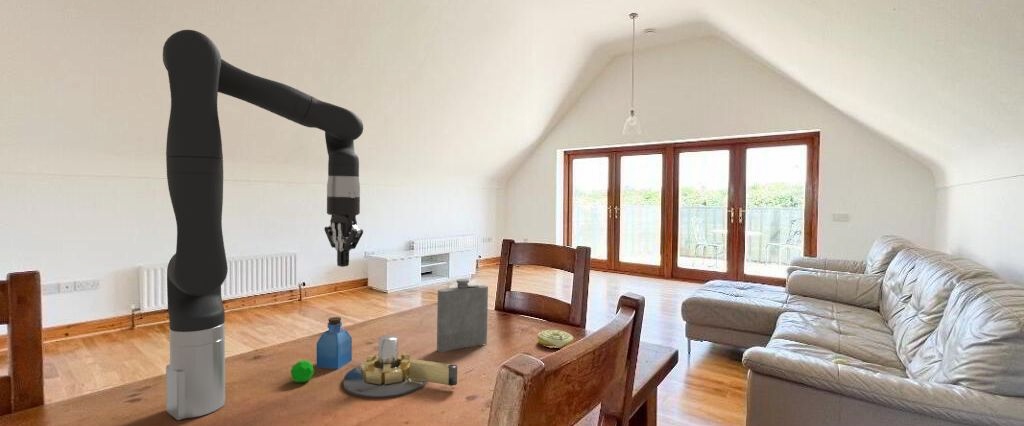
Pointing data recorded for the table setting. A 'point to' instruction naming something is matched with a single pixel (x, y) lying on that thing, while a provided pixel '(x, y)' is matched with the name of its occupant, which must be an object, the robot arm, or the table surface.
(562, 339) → the decorated donut
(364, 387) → the flange
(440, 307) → the hip flask
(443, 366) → the ring wrench
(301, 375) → the polyhedron
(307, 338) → the table surface
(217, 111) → the robot arm
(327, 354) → the perfume bottle
